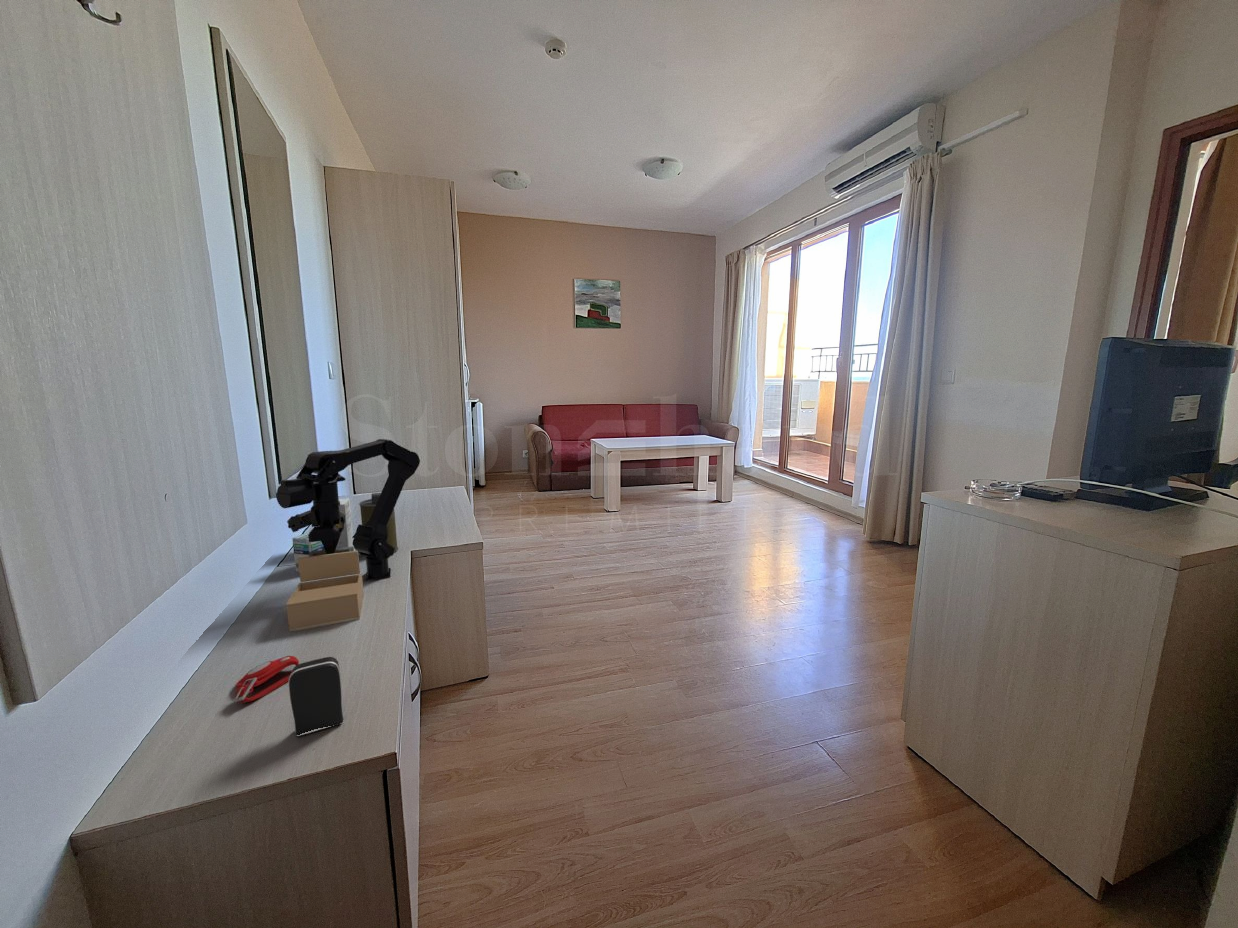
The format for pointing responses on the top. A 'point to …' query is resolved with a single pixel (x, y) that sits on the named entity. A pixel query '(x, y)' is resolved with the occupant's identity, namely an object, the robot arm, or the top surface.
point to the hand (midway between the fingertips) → (330, 557)
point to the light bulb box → (305, 547)
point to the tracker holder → (263, 678)
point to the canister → (367, 511)
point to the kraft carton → (325, 602)
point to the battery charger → (316, 694)
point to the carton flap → (329, 564)
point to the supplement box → (345, 524)
